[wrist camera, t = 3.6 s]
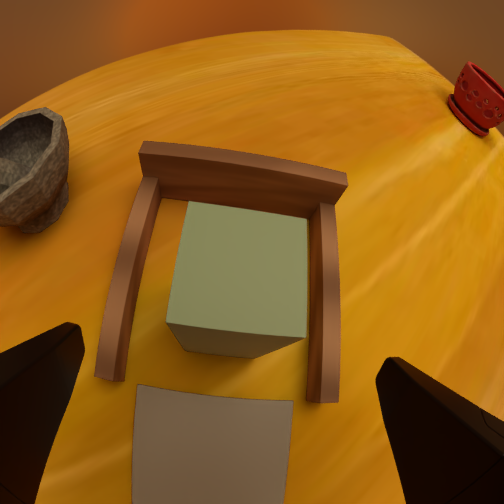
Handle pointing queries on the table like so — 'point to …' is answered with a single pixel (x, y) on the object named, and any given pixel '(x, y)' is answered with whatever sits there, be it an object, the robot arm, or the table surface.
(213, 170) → the frame
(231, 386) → the table surface
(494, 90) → the plant pot
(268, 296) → the green block
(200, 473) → the felt mat
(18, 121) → the mortar and pestle
